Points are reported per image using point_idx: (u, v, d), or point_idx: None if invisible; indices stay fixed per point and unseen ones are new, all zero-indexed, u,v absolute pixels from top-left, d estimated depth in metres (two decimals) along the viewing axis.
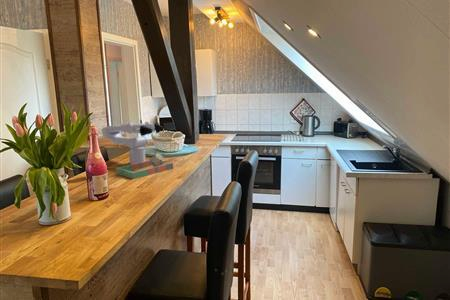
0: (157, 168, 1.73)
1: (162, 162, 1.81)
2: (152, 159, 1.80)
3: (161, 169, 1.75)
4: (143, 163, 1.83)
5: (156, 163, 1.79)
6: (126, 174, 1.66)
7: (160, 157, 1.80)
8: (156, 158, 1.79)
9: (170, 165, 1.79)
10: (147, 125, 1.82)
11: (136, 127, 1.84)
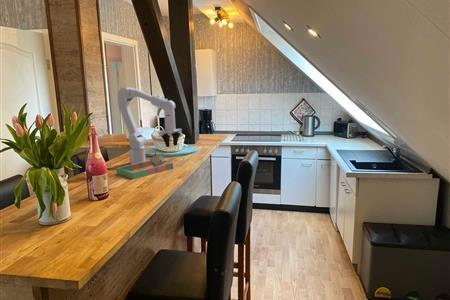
0: (157, 168, 1.73)
1: (162, 162, 1.81)
2: (152, 159, 1.80)
3: (161, 169, 1.75)
4: (143, 163, 1.83)
5: (156, 163, 1.79)
6: (126, 174, 1.66)
7: (160, 157, 1.80)
8: (156, 158, 1.79)
9: (170, 165, 1.79)
10: None
11: (169, 119, 1.82)
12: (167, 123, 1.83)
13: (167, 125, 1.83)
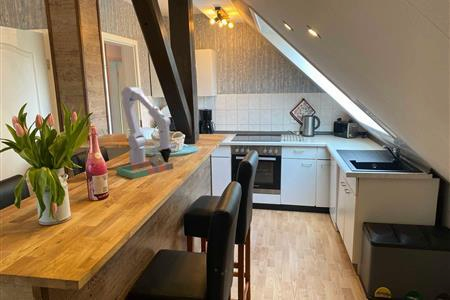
0: (157, 168, 1.73)
1: (161, 162, 1.80)
2: (151, 159, 1.80)
3: (161, 169, 1.75)
4: (143, 163, 1.83)
5: (155, 163, 1.78)
6: (126, 174, 1.66)
7: (159, 157, 1.79)
8: (155, 158, 1.78)
9: (170, 165, 1.79)
10: None
11: (163, 136, 1.81)
12: (161, 139, 1.81)
13: (161, 141, 1.81)
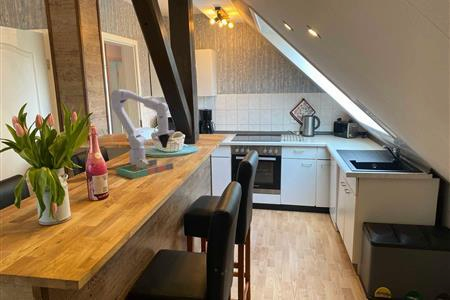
0: (157, 168, 1.73)
1: (148, 166, 1.72)
2: (138, 164, 1.69)
3: (161, 169, 1.75)
4: None
5: (143, 168, 1.69)
6: (126, 174, 1.66)
7: (146, 161, 1.71)
8: (143, 163, 1.69)
9: (170, 165, 1.79)
10: None
11: (162, 121, 1.83)
12: (160, 125, 1.84)
13: (160, 127, 1.84)
